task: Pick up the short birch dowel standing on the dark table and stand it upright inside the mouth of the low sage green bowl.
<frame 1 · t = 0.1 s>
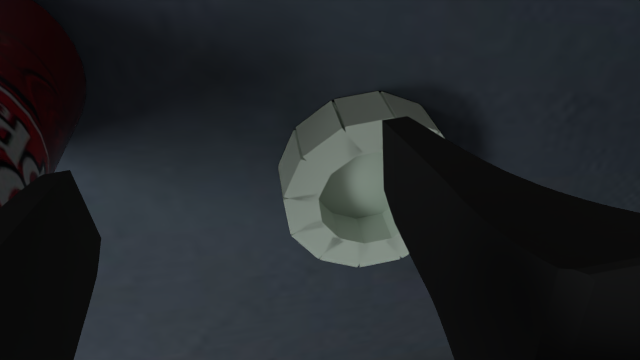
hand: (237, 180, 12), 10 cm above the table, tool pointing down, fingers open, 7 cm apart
sage green bowl: (362, 169, 25), on the table
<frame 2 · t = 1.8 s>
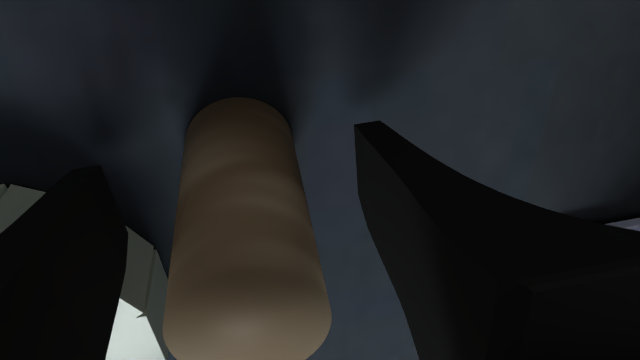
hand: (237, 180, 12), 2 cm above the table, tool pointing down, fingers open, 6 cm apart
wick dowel: (239, 145, 13), on the table
sage green bowl: (30, 297, 15), on the table
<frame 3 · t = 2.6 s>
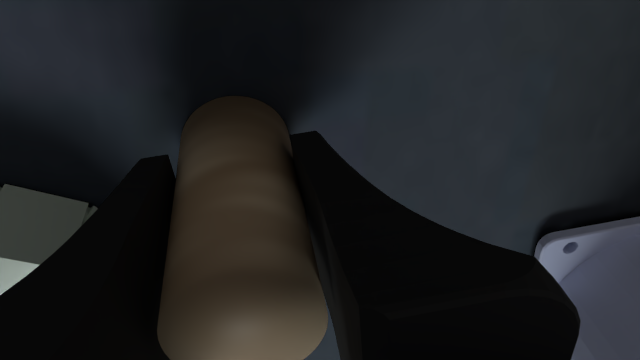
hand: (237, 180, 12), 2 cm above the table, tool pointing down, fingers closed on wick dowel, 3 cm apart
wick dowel: (236, 144, 13), on the table, touching gripper
sage green bowl: (25, 297, 15), on the table
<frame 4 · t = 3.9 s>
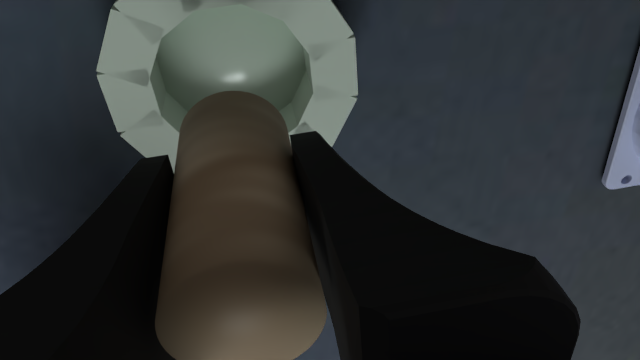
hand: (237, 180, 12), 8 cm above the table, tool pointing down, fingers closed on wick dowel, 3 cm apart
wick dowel: (234, 140, 13), point 6 cm above the table, touching gripper
sage green bowl: (232, 56, 18), on the table
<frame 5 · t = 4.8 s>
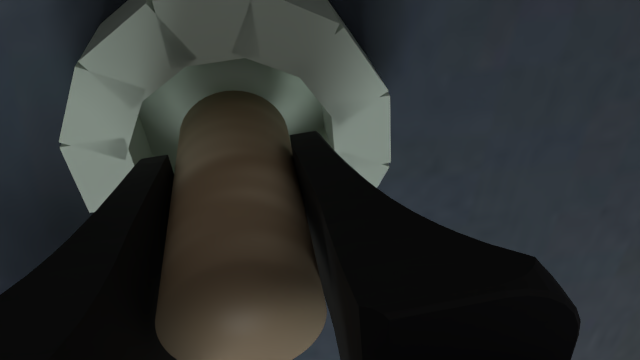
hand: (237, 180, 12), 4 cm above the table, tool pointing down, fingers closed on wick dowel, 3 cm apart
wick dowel: (234, 139, 13), point 2 cm above the table, touching gripper
sage green bowl: (234, 110, 15), on the table
when the fingers open (4 cm above the table, at t = 5.3 s): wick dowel drops 1 cm, resting on sage green bowl.
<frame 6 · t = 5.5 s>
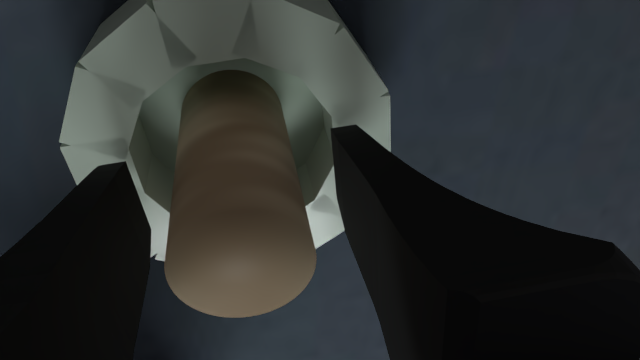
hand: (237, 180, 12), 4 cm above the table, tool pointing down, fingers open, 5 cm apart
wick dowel: (232, 116, 14), point 1 cm above the table, touching sage green bowl
sage green bowl: (234, 110, 15), on the table
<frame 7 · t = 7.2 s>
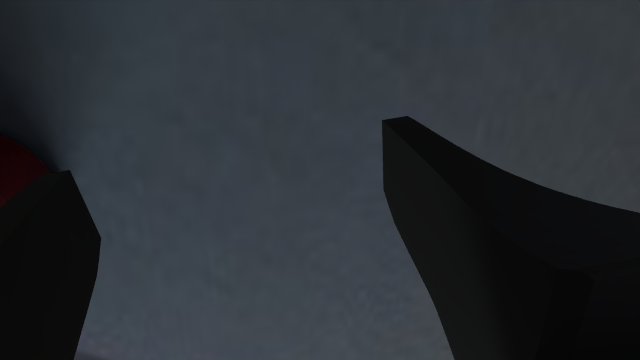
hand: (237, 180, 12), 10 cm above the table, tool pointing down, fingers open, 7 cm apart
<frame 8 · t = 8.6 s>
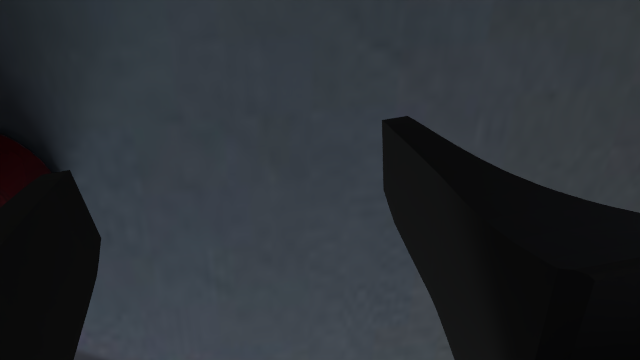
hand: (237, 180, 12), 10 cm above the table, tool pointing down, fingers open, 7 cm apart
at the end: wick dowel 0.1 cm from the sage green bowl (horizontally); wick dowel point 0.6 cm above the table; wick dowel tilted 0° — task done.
